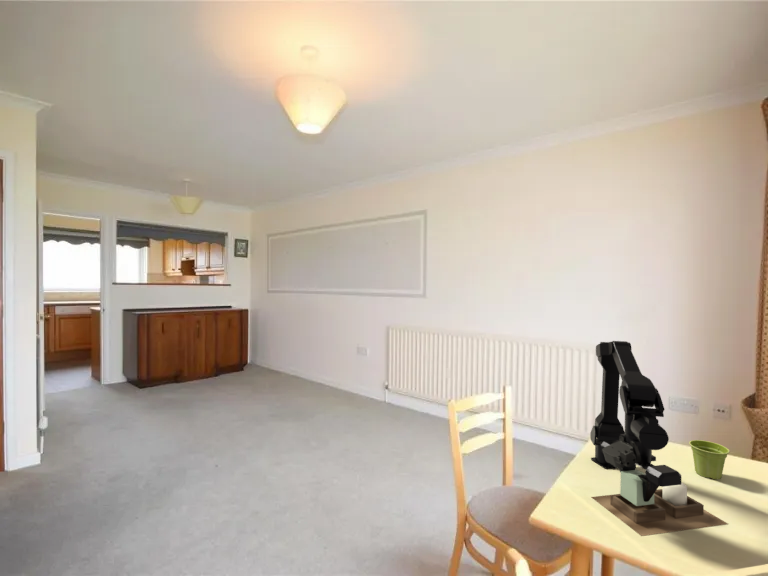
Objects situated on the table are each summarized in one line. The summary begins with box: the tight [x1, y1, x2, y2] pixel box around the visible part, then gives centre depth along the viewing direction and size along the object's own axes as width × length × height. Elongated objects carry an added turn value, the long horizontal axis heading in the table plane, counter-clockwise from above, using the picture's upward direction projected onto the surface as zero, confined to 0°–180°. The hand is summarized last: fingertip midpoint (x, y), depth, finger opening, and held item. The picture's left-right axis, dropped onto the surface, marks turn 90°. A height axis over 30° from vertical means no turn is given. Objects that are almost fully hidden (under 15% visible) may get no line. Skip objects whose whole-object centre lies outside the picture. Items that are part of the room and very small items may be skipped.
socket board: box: [591, 488, 729, 537], centre depth 98 cm, size 16×24×4 cm, turn 101°
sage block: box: [619, 469, 654, 506], centre depth 97 cm, size 5×5×6 cm
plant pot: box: [688, 439, 731, 480], centre depth 117 cm, size 9×9×9 cm
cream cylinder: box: [661, 481, 688, 506], centre depth 99 cm, size 5×5×6 cm
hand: (637, 495), depth 97 cm, fingers closed on sage block, 5 cm apart
